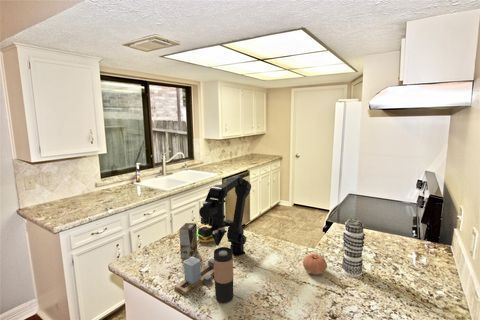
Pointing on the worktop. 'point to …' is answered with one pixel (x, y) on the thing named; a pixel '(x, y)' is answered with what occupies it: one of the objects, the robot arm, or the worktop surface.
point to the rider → (192, 270)
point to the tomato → (315, 264)
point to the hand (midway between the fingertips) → (217, 245)
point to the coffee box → (188, 240)
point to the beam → (204, 279)
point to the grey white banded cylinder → (353, 247)
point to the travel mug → (223, 274)
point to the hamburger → (205, 239)
